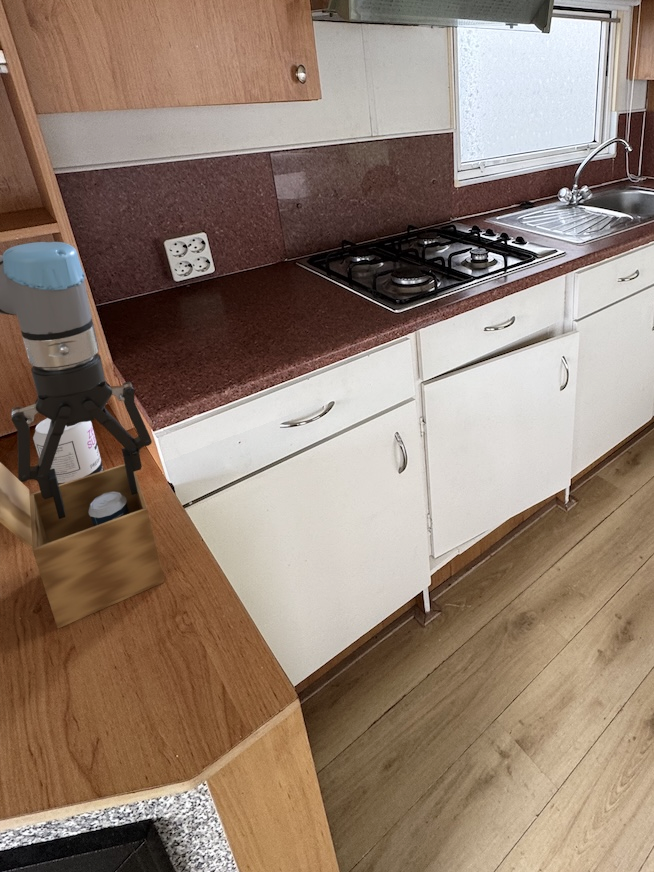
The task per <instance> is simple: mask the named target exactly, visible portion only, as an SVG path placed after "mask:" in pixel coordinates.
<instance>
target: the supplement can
mask: <svg viewBox="0 0 654 872" xmlns="http://www.w3.org/2000/svg"><path fill="white" fill-rule="evenodd" d="M50 422H51V420H50V419H49V418H47V417H46V418H45V419H42V420H41V421H40V422H39V423H38V424H36V426H35V429H34V433H33V437H32V440H33V443H34V446H35V449H36V453H37V456H38V459H39V458H40V455H41V452H42V449H43V446H44V443H45V440H46V437H47V434H48V430H49V427H50ZM51 469H55V473H56V477H57V481H58V485H60V484H63V483H66V482H69V481H72V480H76V479H79V478H82V477H85V476H88V475H91V474H95V473H98V472H101V471H104V470H105V469H104V465H103V462H102V458H101V454H100V449H99V446H98V443H97V439H96V435H95V431H94V427H93V423H92V421H88V422H79V423H77V424H75V425H72V426H68V427H67V425H66V426H65V429H64V432H63V434H62V436H61V439H60V442H59V445H58V448H57V451H56V454H55V457H54V460H53V463H52V466H51Z"/></svg>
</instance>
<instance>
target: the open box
mask: <svg viewBox="0 0 654 872" xmlns="http://www.w3.org/2000/svg"><path fill="white" fill-rule="evenodd" d="M136 472H137V471H134V477H135V482H136V487H137V492H138V493H137V494H134V495H132V493H131V490H130V487H129V483H128V478H127V473H126V468H125V463H124V464H120V465H116V466H114V467H111V468H107V469H104V471H101V472H98V473H95V474H91V475H88V476H85V477H82V478H79V479H76V480H72V481H69V482H66V483H63V484H60V485H59V488H60V492H61V496H62V500H63V504H64V509H65V516H66V517H64V518H61V519H59V517H58V514H57V510H56V506H55V502H54V498H53V497H51V498H48V499H44V498H43V497H42V495H41V491H40V490H38V491H34V492H31V493H29V496H30V514H31V531H32V546H31V547H32V548H31V549H32V554H33V557H34V560H35V563H36V566H37V569H38V573H39V575H40V579H41V582H42V585H43V587H44V588H43V589H44V591H45V593H46V597H47V600H48V603H49V606H50V609H51V612H52V615H53V619H54V622H55V625H56V628H57V629H61V628H63V627H66V626H67V625H69V624H72V623H74V622H77V621H80V620H81V619H84V618H86V617H89V616H90V615H93V614H95V613H97V612H100V611H102V610H104V609H106V608H108V607H112V606H113V605H116V604H118V603H120V602H123V601H125V600H127V599H129V598H131V597H134V596H137V595H139V594H141V593H143V592H145V591H147V590H150V589H152V588H154V587H157V586H159V585H161V584H164V583H165V579H164V573H163V570H162V565H161V561H160V556H159V552H158V547H157V544H156V543H157V542H156V539H155V535H154V530H153V526H152V522H151V517H150V513H149V509H148V506H147V502H146V499H145V497H144V494H143V491H142V488H141V485H140V482H139V479H138V476H137V473H136ZM110 492H118V493H120V494H122V495H123V496H125V497H126V499H127V505H128V508H129V511H130V514H127V515H124V516H121V517H119V518H116V519H113V520H110V521H108V522H105V523H102V524H99V525H97V526H93V523H92V520H91V517H90V515H89V513H88V511H89V508H90V504H91V503H92V502H93V500H94V499H95V498H97V497H99V496H101V495H103V494H105V493H110Z"/></svg>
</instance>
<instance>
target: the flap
mask: <svg viewBox="0 0 654 872" xmlns="http://www.w3.org/2000/svg"><path fill="white" fill-rule="evenodd" d="M29 494H30V489H29V488H28V487H27V486H26V485H25V484H24V482H21V481H19V479H18V478H17V476H15V474H13V473H12V472H11V471H10V469H8V467H6V466H5V465H4V464H3V463H2V461H0V524H1V525H3V526H4V528H6V529H7V530H8V531H9V532H11V533H12V534H13V535H14V536H15V537H16V538H17V539H18V540H20V541H21V542H22V543H24V545H25V546H27V547H28V548H31V547H32V531H31V514H30V496H29Z"/></svg>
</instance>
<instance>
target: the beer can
mask: <svg viewBox="0 0 654 872" xmlns="http://www.w3.org/2000/svg"><path fill="white" fill-rule="evenodd" d="M88 513H89V515H90V517H91V520H92V523H93V526H97V525H99V524H102V523H105V522H108V521H110V520H113V519H116V518H119V517H121V516H124V515H127V514H130V511H129V508H128V505H127V499H126V497H125V496H123V495H122V494H120V493H118V492H110V493H105V494H103V495H101V496H99V497H97V498H95V499H94V500H93V502H92V503H91V504H90V508H89V511H88Z"/></svg>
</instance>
